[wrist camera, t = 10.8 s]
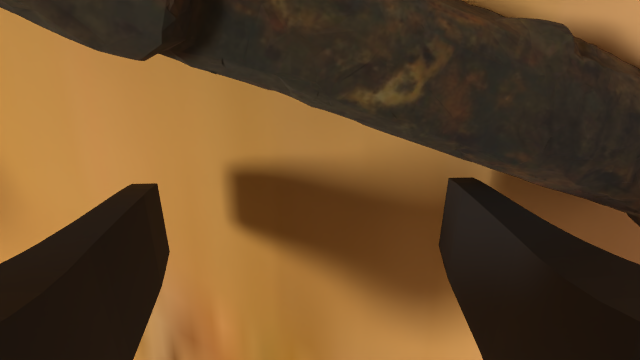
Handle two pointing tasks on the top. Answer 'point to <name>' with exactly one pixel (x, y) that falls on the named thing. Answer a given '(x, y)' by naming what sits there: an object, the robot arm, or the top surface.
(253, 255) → the top surface
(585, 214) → the top surface
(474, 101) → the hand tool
